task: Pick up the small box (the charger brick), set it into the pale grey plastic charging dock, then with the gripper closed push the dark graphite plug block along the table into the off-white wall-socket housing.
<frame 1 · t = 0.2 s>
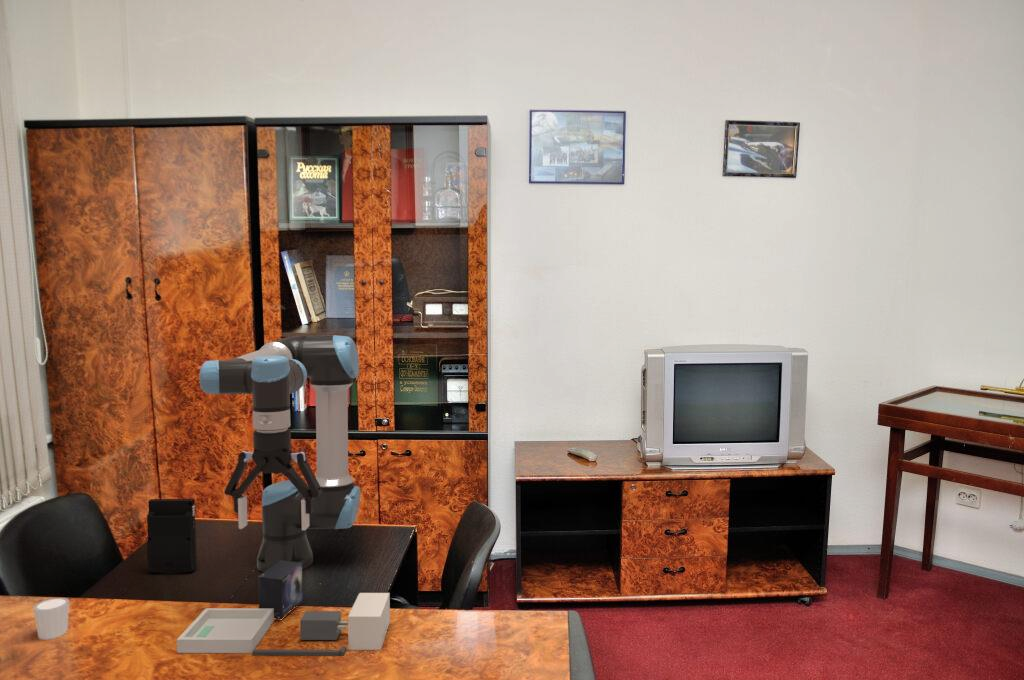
hand: (274, 527, 156), 27 cm above the table, fingers open, 13 cm apart
socket: (365, 636, 164), on the table
white cylinder: (52, 634, 165), on the table
plug: (324, 625, 164), point 3 cm above the table, slide at 0.0 cm
small box: (281, 611, 177), on the table
cable: (297, 654, 156), on the table
dock: (227, 636, 164), on the table
black upright device: (172, 572, 200), on the table
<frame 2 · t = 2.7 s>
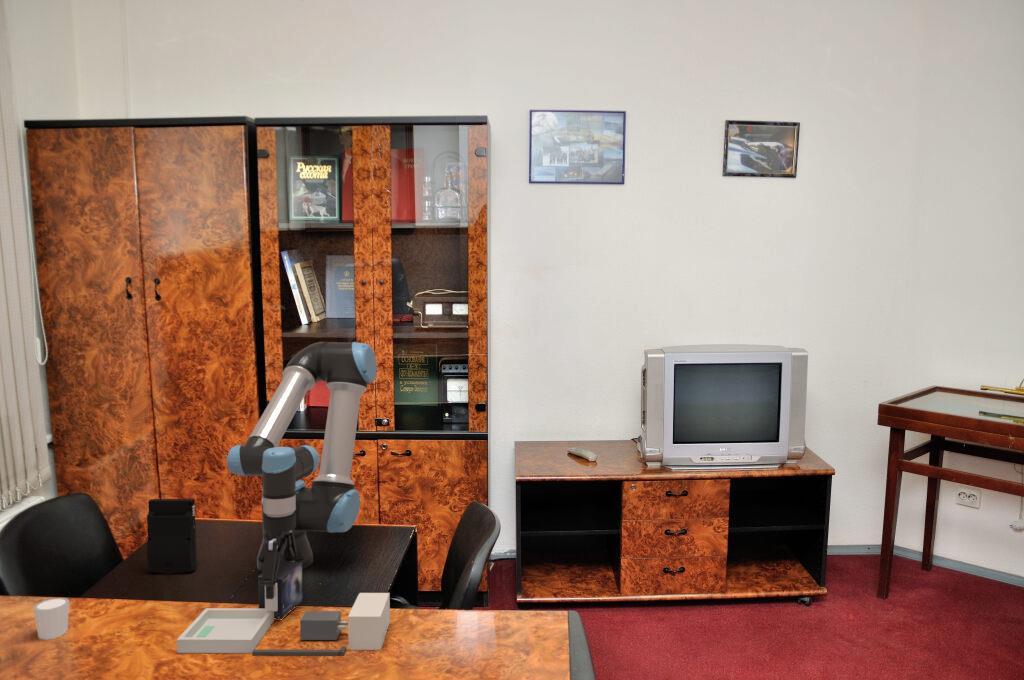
hand: (280, 598, 177), 3 cm above the table, fingers open, 13 cm apart
nothing on the table moved.
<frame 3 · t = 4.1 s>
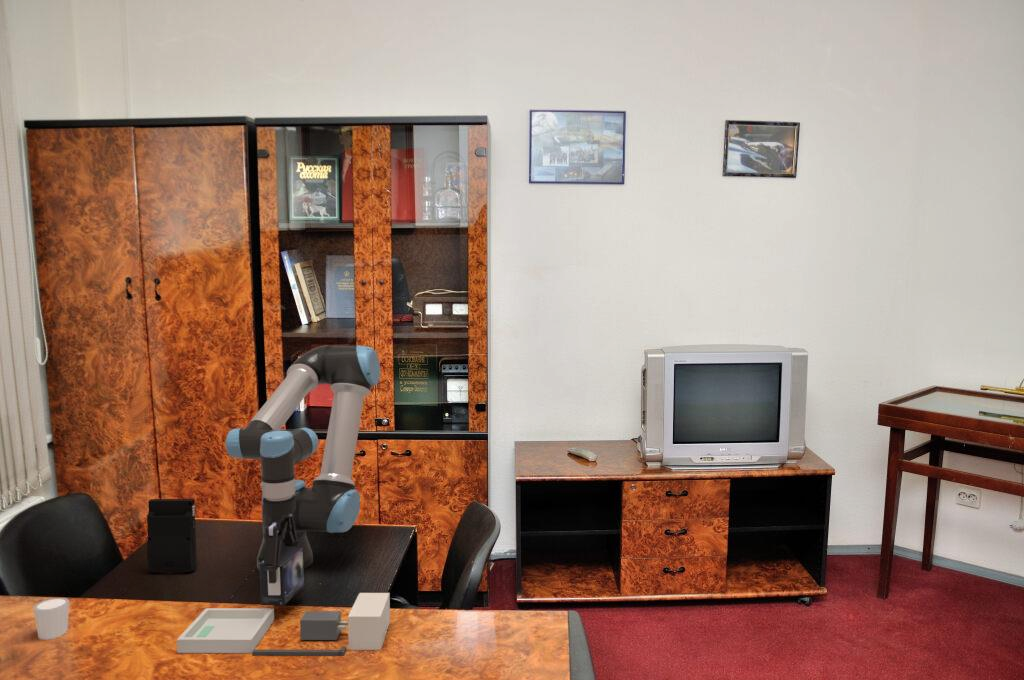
hand: (282, 583, 178), 6 cm above the table, fingers closed on small box, 11 cm apart
small box: (283, 596, 178), point 3 cm above the table, touching gripper
everything else where it was.
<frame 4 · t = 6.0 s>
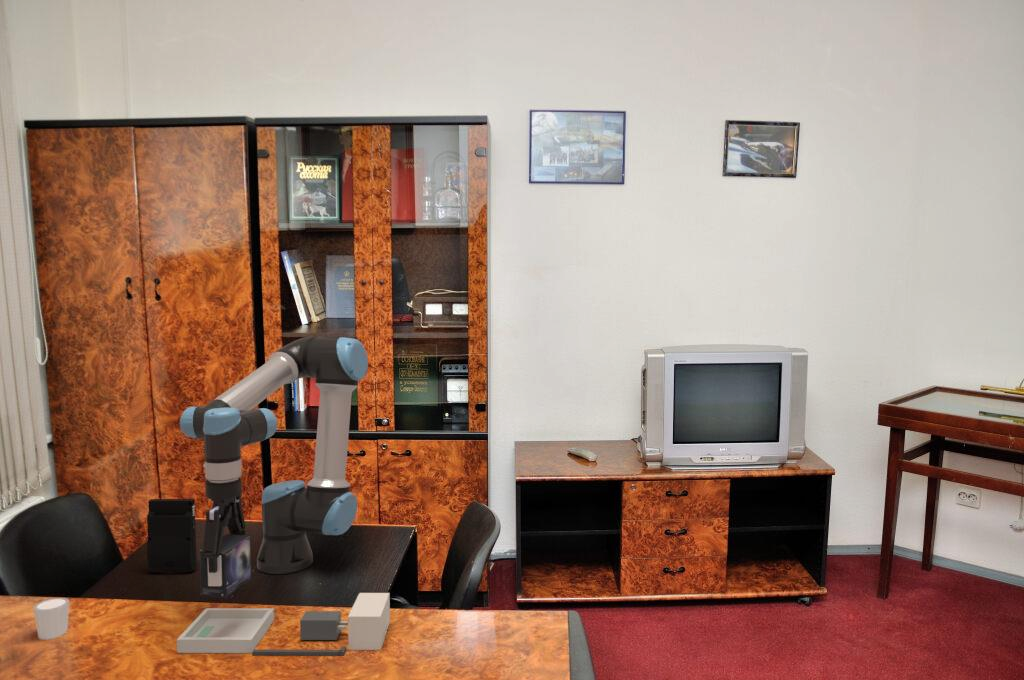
hand: (225, 574, 163), 14 cm above the table, fingers closed on small box, 11 cm apart
small box: (227, 588, 164), point 11 cm above the table, touching gripper
everything else where it was.
when the fingers open (5 cm above the table, at t = 8.2 s): small box stays where it is, resting on dock.
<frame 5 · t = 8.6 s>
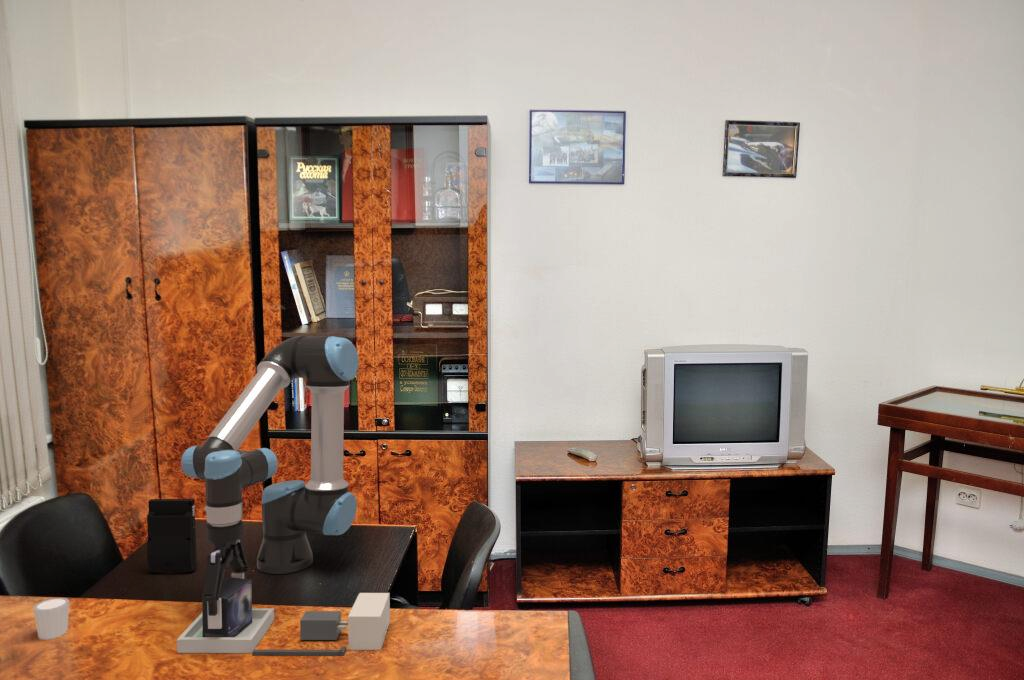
hand: (227, 613, 164), 5 cm above the table, fingers open, 13 cm apart
small box: (228, 632, 164), point 1 cm above the table, touching dock
everything else where it was.
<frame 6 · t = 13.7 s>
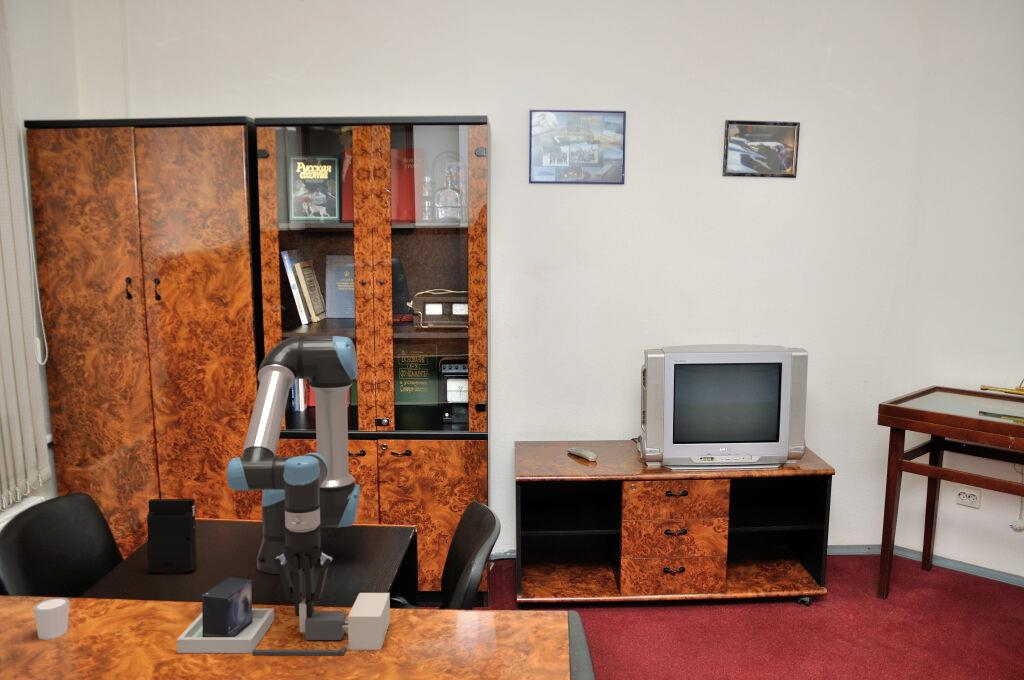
hand: (304, 629, 164), 2 cm above the table, fingers closed
plug: (329, 625, 164), point 3 cm above the table, slide at 1.1 cm, touching gripper
everything else where it was.
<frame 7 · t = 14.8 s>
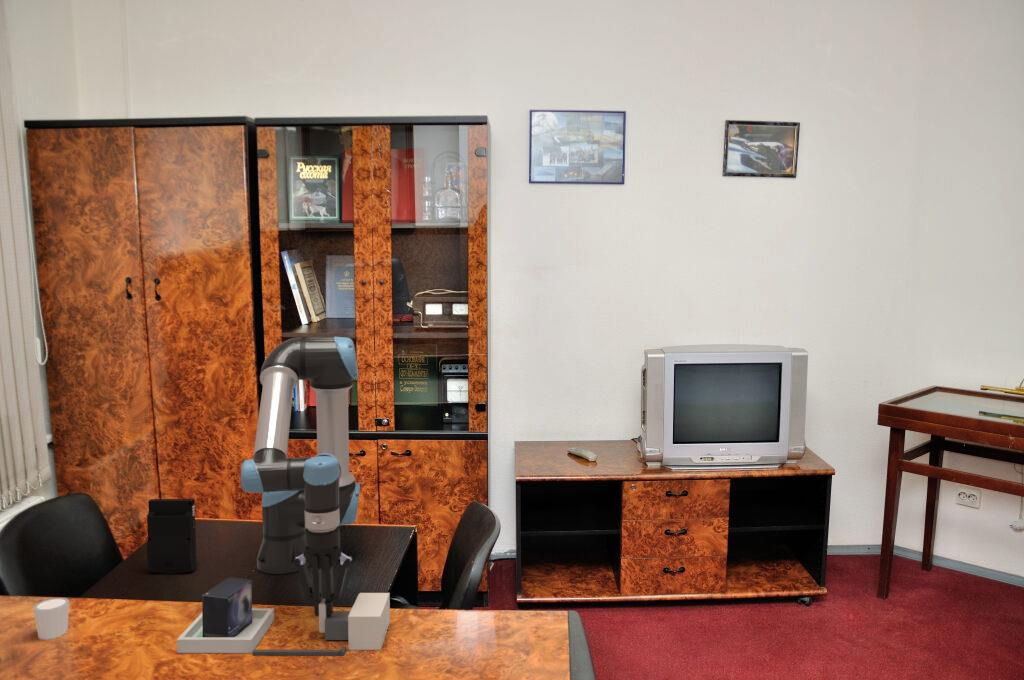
hand: (324, 629, 164), 2 cm above the table, fingers closed
plug: (349, 625, 164), point 3 cm above the table, slide at 5.4 cm, touching gripper
everything else where it was.
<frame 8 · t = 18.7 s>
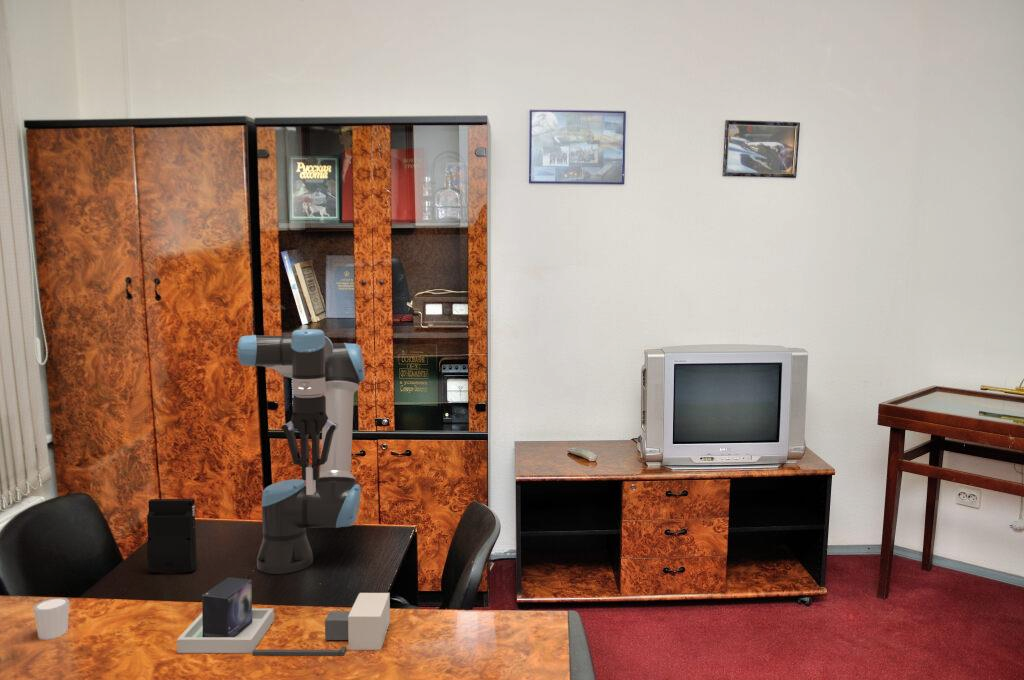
hand: (311, 493, 174), 29 cm above the table, fingers closed
plug: (349, 625, 164), point 3 cm above the table, slide at 5.5 cm
everything else where it was.
at the end: small box inside the target area on the dock (0.1 cm from its centre), point 0.8 cm above the dock's base; small box tilted 0°; plug slide at 5.5 cm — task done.
